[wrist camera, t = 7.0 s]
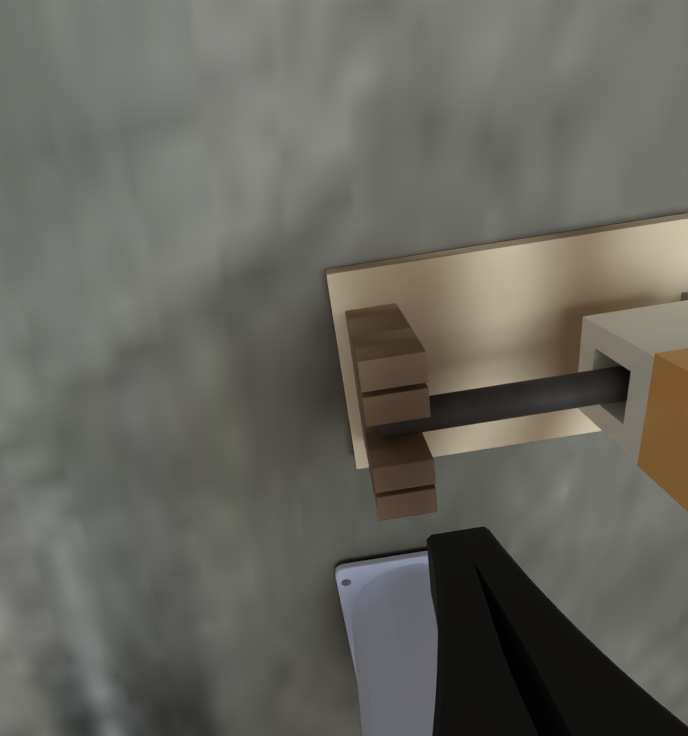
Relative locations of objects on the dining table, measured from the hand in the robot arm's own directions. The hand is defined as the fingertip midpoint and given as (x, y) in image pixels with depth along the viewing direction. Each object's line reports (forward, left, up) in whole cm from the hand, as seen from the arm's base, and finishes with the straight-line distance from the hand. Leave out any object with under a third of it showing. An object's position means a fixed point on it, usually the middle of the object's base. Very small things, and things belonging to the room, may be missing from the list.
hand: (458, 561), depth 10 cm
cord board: (0, -7, -10) cm, 13 cm away
